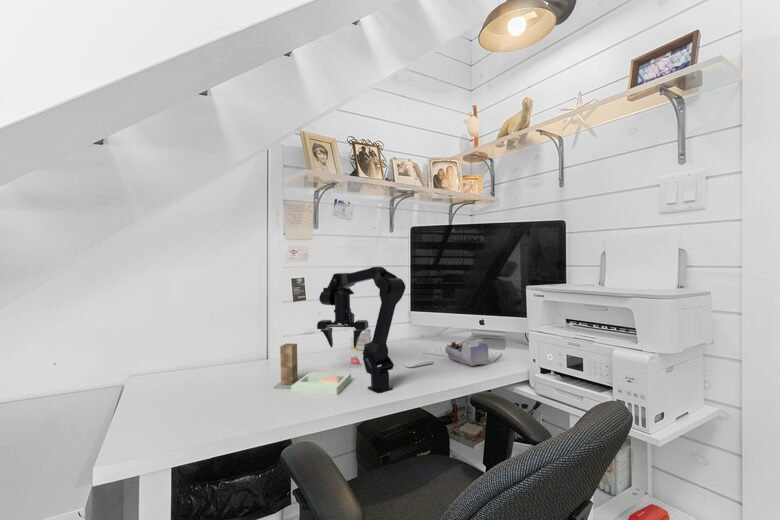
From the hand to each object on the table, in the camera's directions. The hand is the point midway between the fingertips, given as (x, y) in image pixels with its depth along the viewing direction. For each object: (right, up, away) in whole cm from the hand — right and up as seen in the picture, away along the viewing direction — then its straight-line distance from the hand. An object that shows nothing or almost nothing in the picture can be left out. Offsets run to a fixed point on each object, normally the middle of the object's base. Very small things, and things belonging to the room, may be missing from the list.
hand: (343, 347), depth 142 cm
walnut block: (-19, -12, -6) cm, 23 cm away
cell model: (+52, -12, +21) cm, 57 cm away
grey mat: (-19, -12, -6) cm, 23 cm away
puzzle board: (-6, -12, -8) cm, 16 cm away
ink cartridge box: (+5, -12, +23) cm, 27 cm away
